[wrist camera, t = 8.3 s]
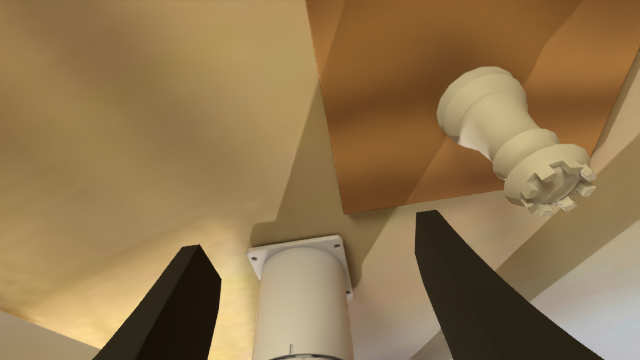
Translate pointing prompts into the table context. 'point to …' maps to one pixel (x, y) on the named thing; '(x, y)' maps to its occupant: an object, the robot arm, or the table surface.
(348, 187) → the brown wooden board
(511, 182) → the rook chess piece
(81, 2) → the table surface
